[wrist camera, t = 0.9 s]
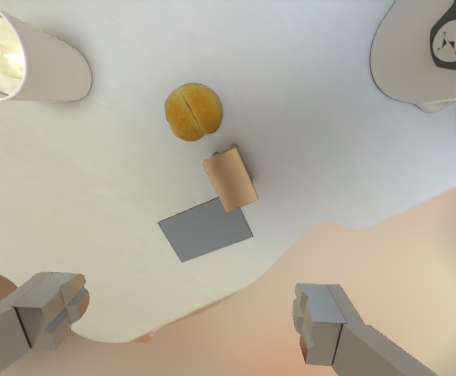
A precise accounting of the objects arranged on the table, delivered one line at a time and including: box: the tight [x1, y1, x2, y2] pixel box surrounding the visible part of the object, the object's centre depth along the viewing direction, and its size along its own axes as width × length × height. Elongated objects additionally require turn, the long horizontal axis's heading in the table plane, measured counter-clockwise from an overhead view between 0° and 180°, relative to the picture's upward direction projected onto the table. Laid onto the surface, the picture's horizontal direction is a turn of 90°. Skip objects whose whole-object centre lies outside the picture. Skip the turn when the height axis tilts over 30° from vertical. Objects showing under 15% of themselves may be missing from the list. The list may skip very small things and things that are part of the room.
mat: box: [158, 197, 253, 262], centre depth 41 cm, size 16×10×1 cm, turn 115°
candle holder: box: [0, 10, 92, 101], centre depth 28 cm, size 10×10×12 cm
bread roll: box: [165, 83, 222, 141], centre depth 33 cm, size 8×9×4 cm
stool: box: [202, 144, 258, 212], centre depth 33 cm, size 5×8×8 cm, turn 25°
